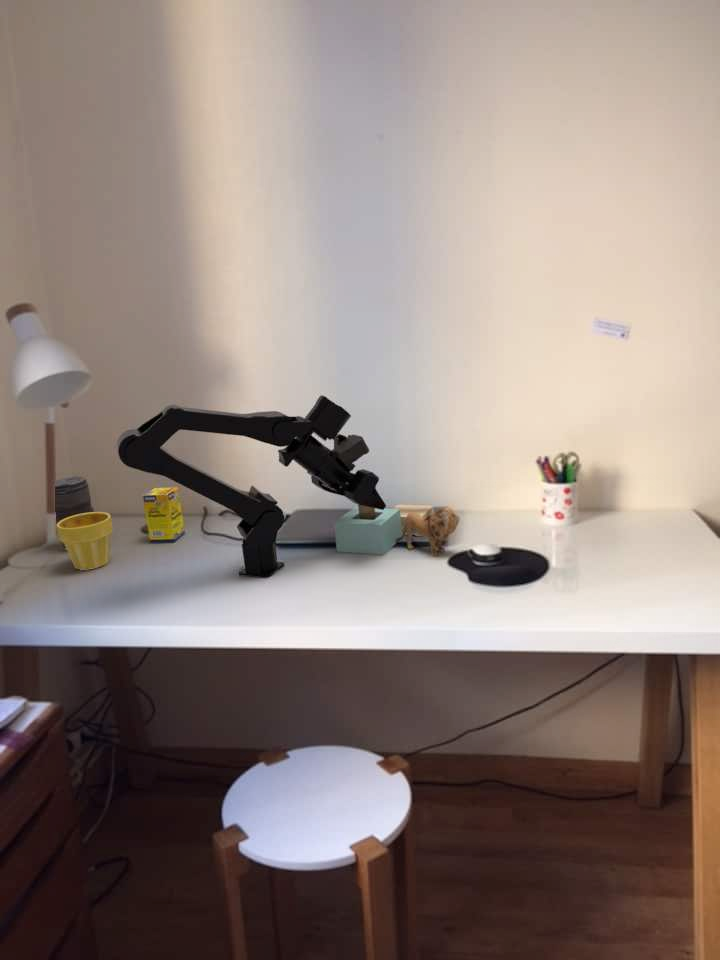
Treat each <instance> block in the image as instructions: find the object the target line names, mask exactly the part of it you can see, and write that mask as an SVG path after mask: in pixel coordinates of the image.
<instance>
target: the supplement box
mask: <svg viewBox="0 0 720 960" xmlns="http://www.w3.org/2000/svg"><path fill="white" fill-rule="evenodd" d="M180 499H181V498H180V492H179V487H173V486H172V487H155V488H153V489H152V490H150V491H149V492H147V493H144V494H143V495H142V501H143V507H144V513H145V519H146V525H147V531H148V539H149V542H150V543H151V544H155V543H157V544H158V543H159V544H160V543H175V542H176V541H178V539H180V538H181V537H182V536H184V535H185V534H186V531H185V526H184V518H183V512H182V505H181V500H180Z"/></svg>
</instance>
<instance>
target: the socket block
mask: <svg viewBox="0 0 720 960" xmlns="http://www.w3.org/2000/svg"><path fill="white" fill-rule="evenodd" d="M375 516H376V519H375V520H364V519H359V508H358V506H357V507H356V506H354V507H353V508H352V509H350V510H349V511H348V512H346V513H345V514H343V515H342V516H340V517H339V518H338V519H337V520H335V521H333V526H334V527H333V528H334V535H335V545H336V546H335V547H336V552H339V553H354V554H355V553H356V554H371V555H383V556H384V555H385V554H386V553H387V552H388V551H389V550H390V549H392V548H393V547H394V546H395V545H396V544H397V543H396V539H397V538H399V537H400V536H401V535H402V528H401V515H400V509H393V508H386V507H385V508H384V510H381V509H376V508H375Z"/></svg>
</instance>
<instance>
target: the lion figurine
mask: <svg viewBox="0 0 720 960" xmlns="http://www.w3.org/2000/svg"><path fill="white" fill-rule="evenodd" d="M460 518H461V517H460V516H459V515H457V514H456V512H455V511H454V510H453V508H452V507H447V506H446V507H443V508H440V509H439V510H436V511H434V513H433V514H430V515H429V516H428V517H427V518H423V517H421V516H420V515H419V514H416V513H410V514H408V515H407V517H406V519H405V526H404V531H403V534H402V536H401V537H399V538H397V539H396V541H398V542H400V541H402V540H403V538H404V537H405V536H404V535H405V533H406V530H407V536H406V543H407V544H406V545H407V549H408V550H414V548H415V546H414V545H412V542H411V541H414V540H415V539H414V538H413V536H412V535H413V534H414V533H416V532H417V533H418V534H419V535H421V536H420V537H422V536H423V538H428V541H429V546H430V547H429V548H430V554H431V556H432V557H436V556H439V552H445V547H443V546H442V542H443V541H445V540H446V539H448V537H449V535H451V534H453V533H454V532H455V531H456V530H457V527H458V523H459V522H460V520H461V519H460ZM414 542H415V541H414Z"/></svg>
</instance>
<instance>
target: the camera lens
mask: <svg viewBox="0 0 720 960" xmlns="http://www.w3.org/2000/svg"><path fill="white" fill-rule="evenodd" d="M54 481H55V512H56V519H55V523H56V525H57V523H58V522H60V521H61V520H63V519H65V518H68V517H70V516H74V515H77V514H83V513H89V512H95V511H94V507H93V506H92V503H91V502H92V499H91V494H90V493H91V492H90V488H89V483H88V482H87V480H86V477H84V476H72V477H71V476H70V477H65V478H61V479H57V480H54ZM60 543H62V545H63V548H66V547H65V545H64V543H63V542H61V541H60Z"/></svg>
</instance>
